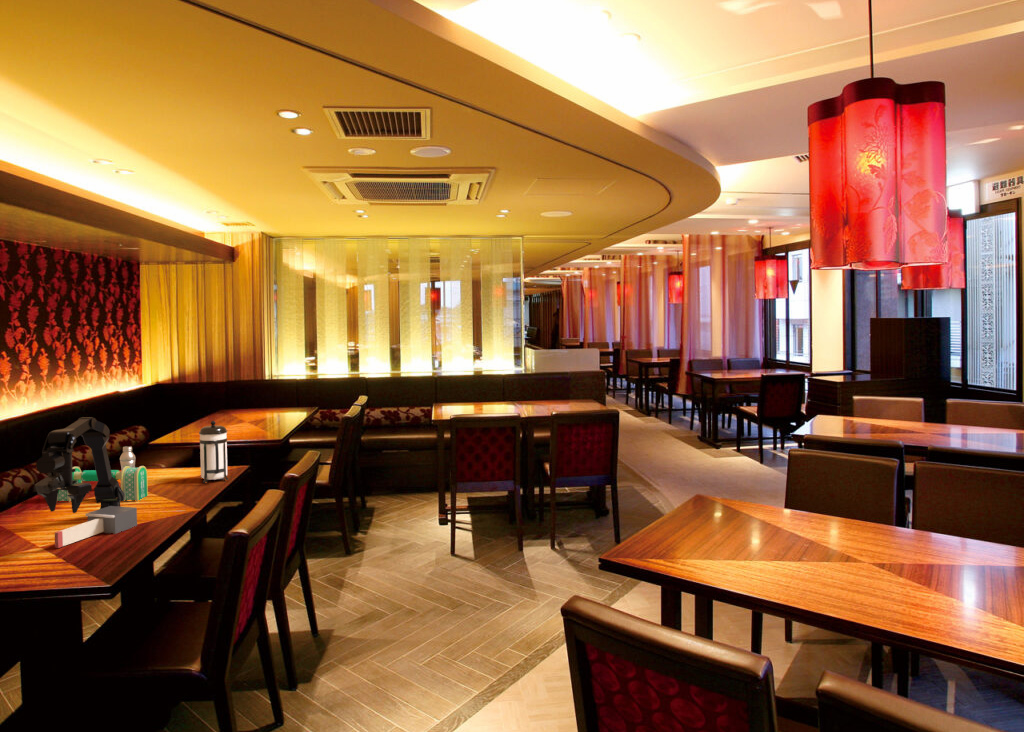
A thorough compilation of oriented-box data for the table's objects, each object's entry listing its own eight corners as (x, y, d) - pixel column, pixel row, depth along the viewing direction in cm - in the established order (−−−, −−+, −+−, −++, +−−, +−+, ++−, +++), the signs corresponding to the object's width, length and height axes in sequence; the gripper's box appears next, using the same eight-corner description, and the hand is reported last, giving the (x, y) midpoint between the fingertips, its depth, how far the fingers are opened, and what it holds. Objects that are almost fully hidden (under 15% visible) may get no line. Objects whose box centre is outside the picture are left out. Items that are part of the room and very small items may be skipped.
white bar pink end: (102, 530, 234) (102, 516, 234) (105, 530, 234) (105, 517, 233) (55, 547, 215) (54, 532, 215) (58, 547, 215) (58, 532, 215)
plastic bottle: (129, 490, 295) (128, 448, 294) (117, 489, 296) (115, 447, 295) (140, 487, 301) (139, 445, 300) (128, 486, 303) (126, 445, 302)
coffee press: (189, 483, 310) (187, 422, 309) (213, 476, 325) (211, 418, 324) (218, 485, 305) (216, 424, 304) (241, 478, 320) (239, 419, 319)
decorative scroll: (148, 497, 284) (147, 464, 284) (137, 502, 276) (136, 468, 275) (66, 497, 283) (65, 464, 282) (53, 502, 274) (52, 468, 274)
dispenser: (110, 523, 244) (110, 505, 243) (137, 525, 241) (136, 507, 241) (85, 532, 233) (85, 513, 233) (113, 534, 230) (112, 515, 230)
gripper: (17, 470, 211) (18, 516, 212) (62, 473, 207) (64, 520, 208) (48, 464, 222) (49, 508, 223) (92, 466, 218) (93, 511, 218)
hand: (63, 512), depth 217 cm, fingers open, 9 cm apart
